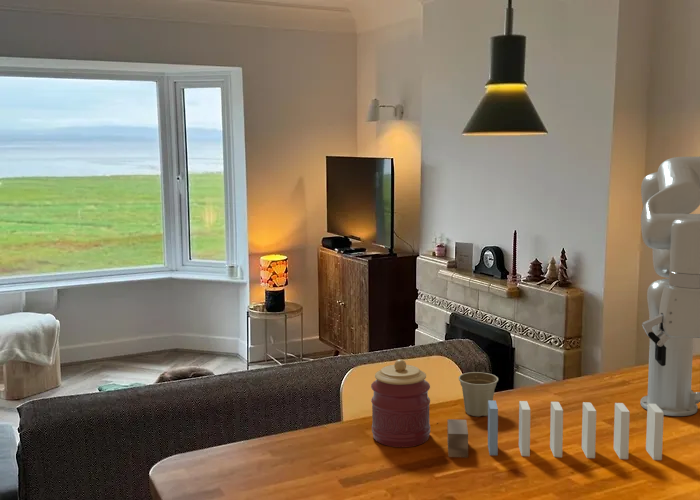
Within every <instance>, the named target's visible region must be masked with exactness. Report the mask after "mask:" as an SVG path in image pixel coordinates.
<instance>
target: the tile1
mask: <svg viewBox="0 0 700 500" xmlns="http://www.w3.org/2000/svg"><path fill="white" fill-rule="evenodd" d="M646 413H647V414H646V436H645V438H646V439H645V450H646V452H647V453H648V455H649V456H650V457H651V458H652V460H653V461H662V460H663V440H664V438H663V436H664V416H665V415H664V412H663V411H662V410H661V409H660V408H659V407H658V406H657V405H656V404H648V405H647V410H646Z"/></svg>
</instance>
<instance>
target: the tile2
mask: <svg viewBox="0 0 700 500" xmlns="http://www.w3.org/2000/svg"><path fill="white" fill-rule="evenodd" d="M613 419H614V421H613V424H614V425H613V450H614V452H615V453H616V455H617V456H618V458H619V460H629V450H630V449H629V448H630V447H629V446H630V445H629V444H630V442H629V441H630V439H629V438H630V410H629V409H628V408H627V406H626V405H625V403H623V402H614V417H613Z"/></svg>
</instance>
